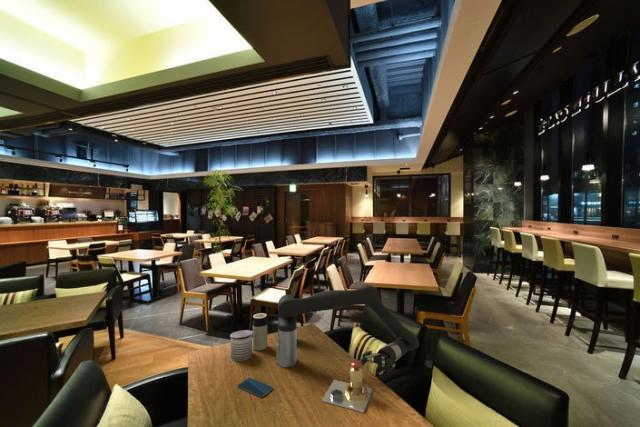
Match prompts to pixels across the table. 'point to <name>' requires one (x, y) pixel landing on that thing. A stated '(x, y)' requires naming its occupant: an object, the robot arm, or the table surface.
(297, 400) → the table surface
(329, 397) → the fitting plate
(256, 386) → the smartphone
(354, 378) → the brass valve
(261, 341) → the travel mug
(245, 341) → the can
